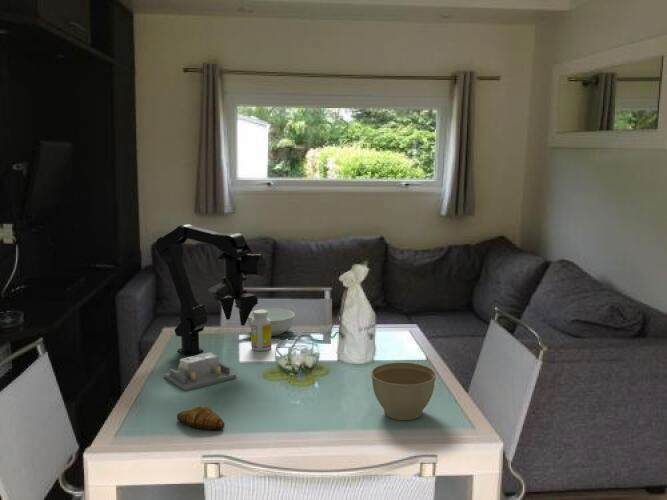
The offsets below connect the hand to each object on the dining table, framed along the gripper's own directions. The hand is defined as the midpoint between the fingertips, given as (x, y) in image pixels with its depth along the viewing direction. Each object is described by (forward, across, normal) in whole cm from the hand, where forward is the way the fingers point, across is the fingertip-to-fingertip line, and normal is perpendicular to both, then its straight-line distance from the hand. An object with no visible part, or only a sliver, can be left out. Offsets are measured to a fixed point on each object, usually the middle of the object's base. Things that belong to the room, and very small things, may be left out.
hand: (235, 322), depth 207 cm
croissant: (+12, +38, -32) cm, 51 cm away
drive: (+11, +8, -17) cm, 22 cm away
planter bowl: (+12, +64, +11) cm, 66 cm away
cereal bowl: (+12, -18, +25) cm, 33 cm away
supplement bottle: (+12, -4, +12) cm, 18 cm away
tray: (+12, +8, -17) cm, 22 cm away
